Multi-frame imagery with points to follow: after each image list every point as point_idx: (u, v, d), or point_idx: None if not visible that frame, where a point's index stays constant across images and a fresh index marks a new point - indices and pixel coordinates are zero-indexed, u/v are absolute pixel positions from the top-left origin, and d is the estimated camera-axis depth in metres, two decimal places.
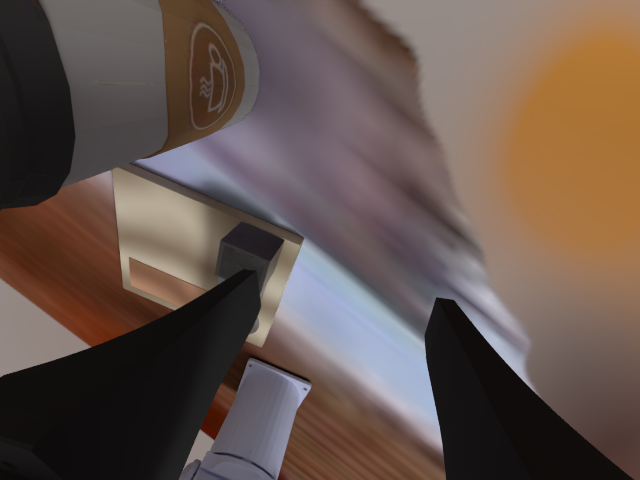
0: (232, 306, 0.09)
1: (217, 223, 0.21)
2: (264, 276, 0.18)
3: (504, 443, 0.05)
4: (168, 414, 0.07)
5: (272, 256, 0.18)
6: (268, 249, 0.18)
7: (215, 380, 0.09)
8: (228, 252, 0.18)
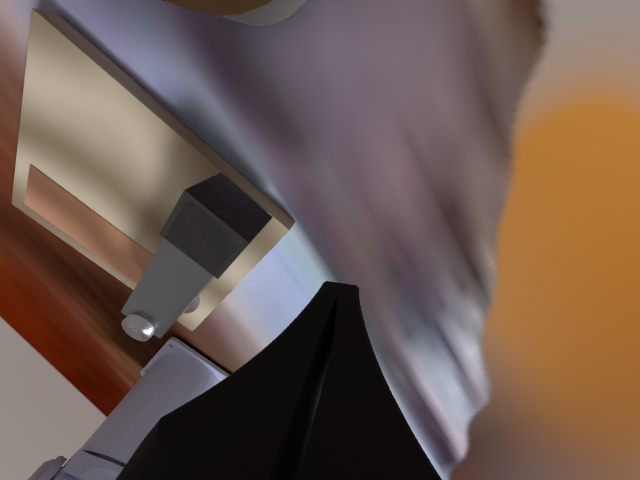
0: (330, 323, 0.09)
1: (183, 163, 0.15)
2: (233, 259, 0.13)
3: (320, 400, 0.05)
4: (299, 449, 0.06)
5: (253, 236, 0.12)
6: (249, 224, 0.13)
7: (315, 403, 0.08)
8: (191, 211, 0.12)
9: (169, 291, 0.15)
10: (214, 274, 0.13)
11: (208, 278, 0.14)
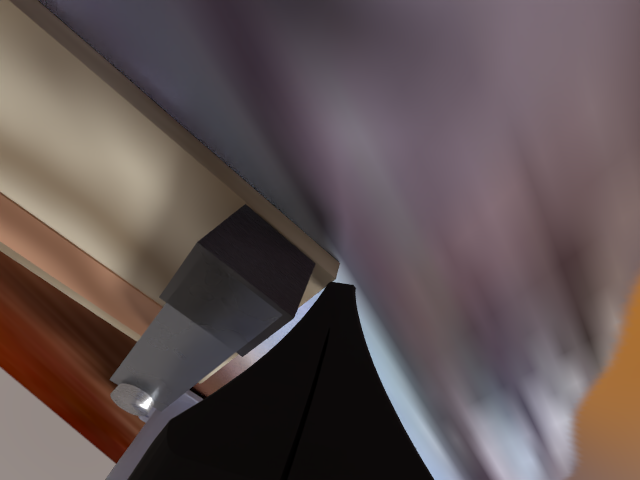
0: None
1: (192, 189, 0.11)
2: (267, 335, 0.09)
3: (313, 399, 0.05)
4: None
5: (297, 303, 0.08)
6: (290, 283, 0.09)
7: None
8: (206, 270, 0.08)
9: (174, 364, 0.11)
10: (238, 350, 0.09)
11: (229, 354, 0.10)
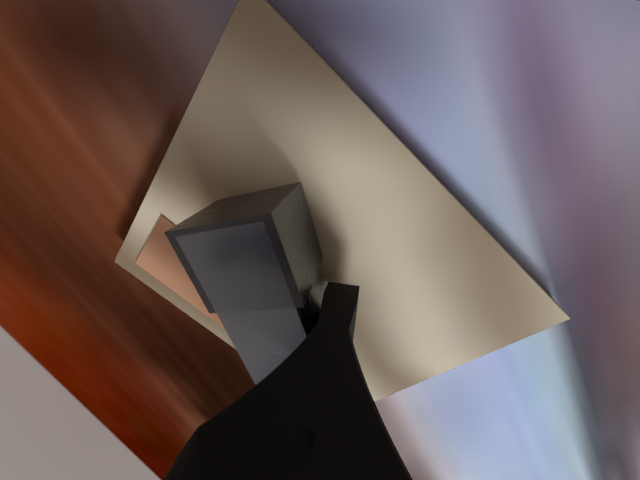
0: (351, 327, 0.08)
1: (427, 222, 0.10)
2: (284, 259, 0.07)
3: (296, 394, 0.06)
4: None
5: (276, 205, 0.07)
6: (266, 202, 0.08)
7: None
8: (193, 249, 0.08)
9: None
10: (294, 304, 0.08)
11: (296, 317, 0.08)
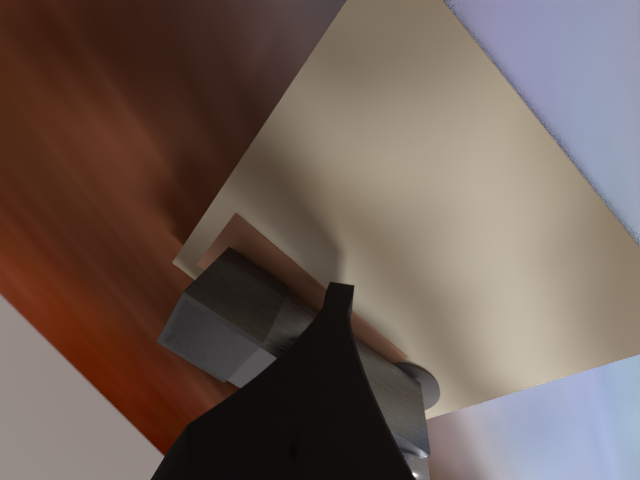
0: None
1: (558, 223, 0.08)
2: (219, 316, 0.09)
3: (299, 395, 0.06)
4: None
5: (193, 282, 0.09)
6: None
7: None
8: (176, 343, 0.10)
9: None
10: (256, 345, 0.09)
11: (267, 354, 0.09)
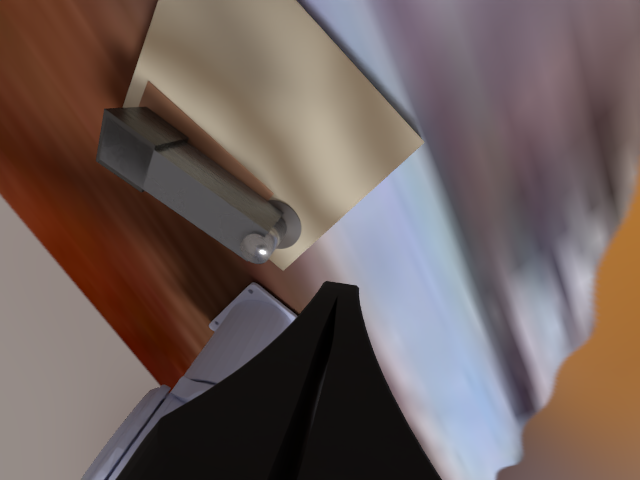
0: (330, 323, 0.09)
1: (323, 68, 0.14)
2: (127, 126, 0.15)
3: (320, 399, 0.05)
4: (299, 449, 0.06)
5: (113, 109, 0.15)
6: None
7: (315, 403, 0.08)
8: (107, 159, 0.16)
9: (194, 199, 0.16)
10: (152, 148, 0.15)
11: (159, 155, 0.15)
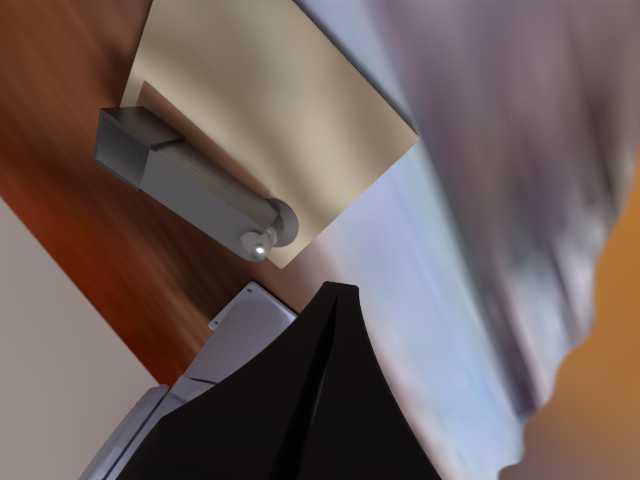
0: (330, 323, 0.09)
1: (318, 65, 0.14)
2: (123, 125, 0.15)
3: (320, 399, 0.05)
4: (299, 449, 0.06)
5: (110, 109, 0.15)
6: None
7: (315, 403, 0.08)
8: (104, 158, 0.16)
9: (191, 198, 0.16)
10: (148, 147, 0.15)
11: (155, 154, 0.15)
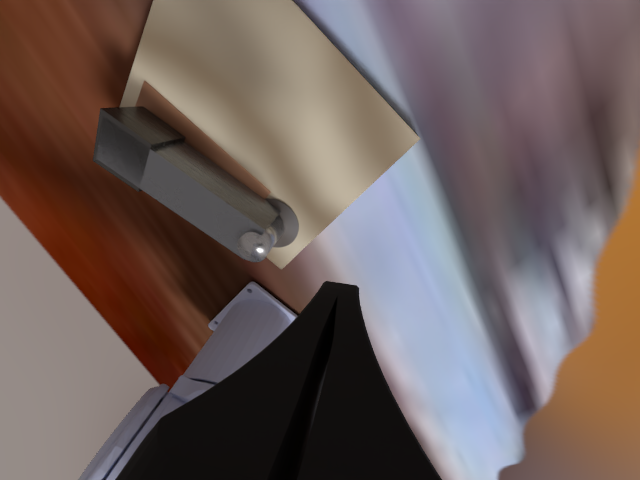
0: (330, 323, 0.09)
1: (318, 65, 0.14)
2: (123, 125, 0.15)
3: (320, 399, 0.05)
4: (299, 449, 0.06)
5: (110, 109, 0.15)
6: None
7: (315, 403, 0.08)
8: (104, 158, 0.16)
9: (191, 198, 0.16)
10: (148, 147, 0.15)
11: (155, 154, 0.15)
